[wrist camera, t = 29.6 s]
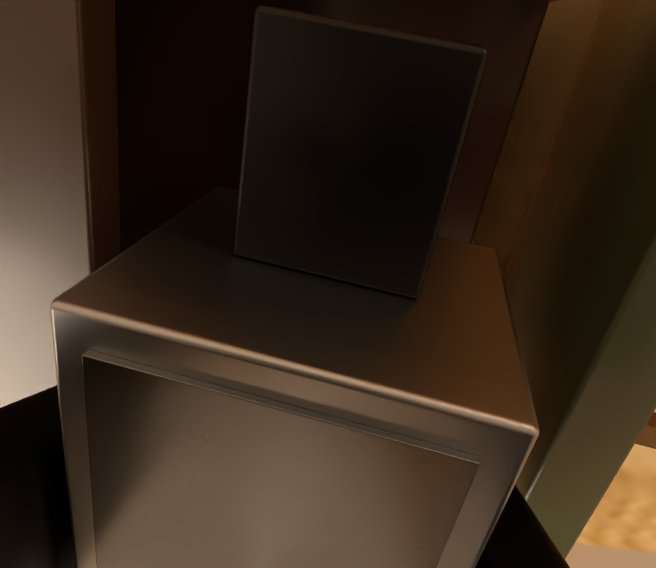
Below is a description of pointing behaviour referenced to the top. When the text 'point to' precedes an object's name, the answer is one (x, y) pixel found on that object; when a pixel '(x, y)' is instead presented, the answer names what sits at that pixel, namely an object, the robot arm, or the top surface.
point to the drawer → (458, 199)
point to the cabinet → (53, 172)
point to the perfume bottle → (304, 334)
